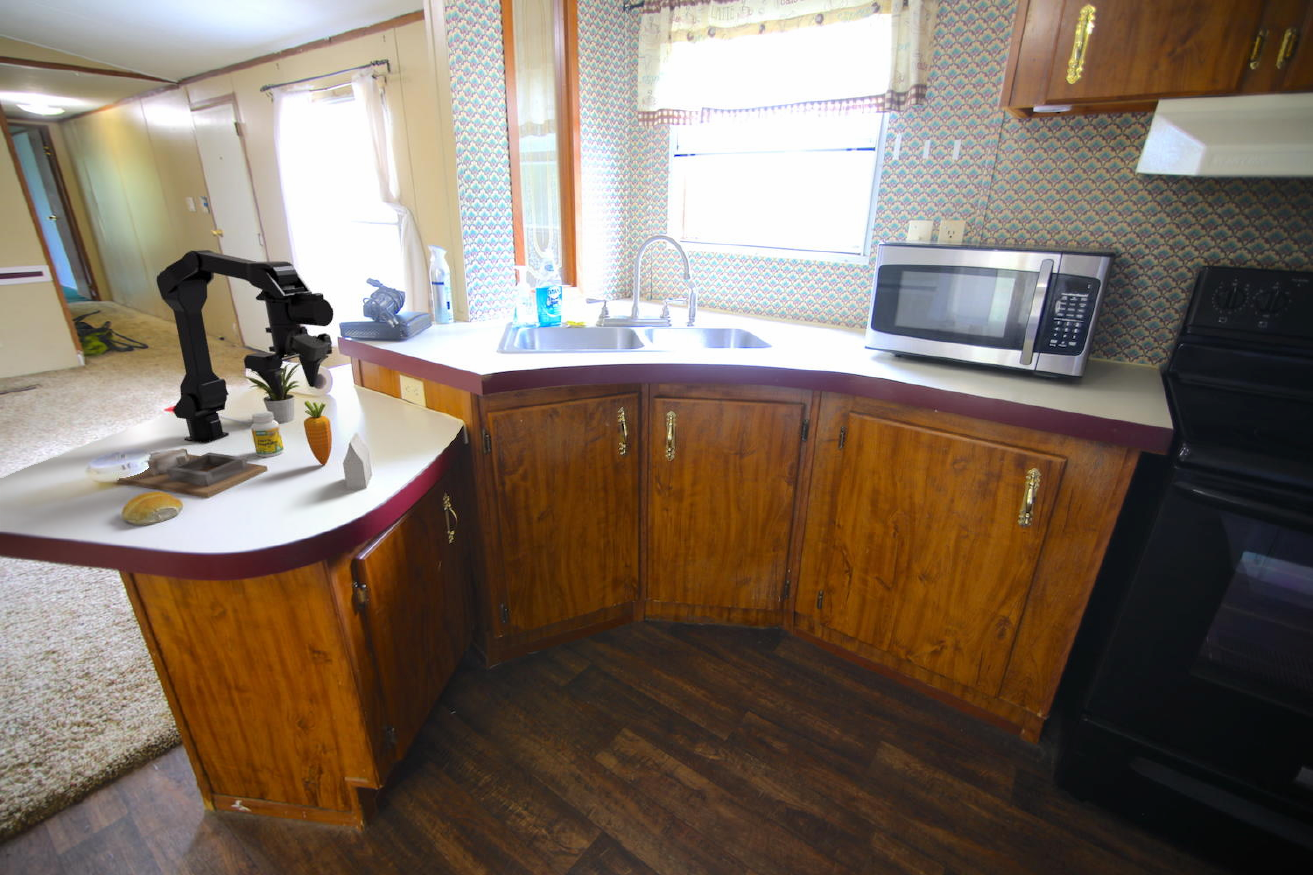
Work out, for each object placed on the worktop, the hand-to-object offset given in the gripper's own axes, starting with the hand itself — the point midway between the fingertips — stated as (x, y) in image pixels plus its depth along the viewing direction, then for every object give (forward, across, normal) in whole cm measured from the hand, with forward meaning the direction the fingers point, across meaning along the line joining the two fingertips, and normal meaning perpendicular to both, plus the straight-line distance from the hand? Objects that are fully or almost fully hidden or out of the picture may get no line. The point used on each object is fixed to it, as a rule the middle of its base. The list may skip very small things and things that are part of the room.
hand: (296, 392), depth 133 cm
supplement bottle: (+15, -3, +7) cm, 17 cm away
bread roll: (+15, -33, +3) cm, 36 cm away
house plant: (+15, +18, +22) cm, 32 cm away
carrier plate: (+15, -18, +11) cm, 26 cm away
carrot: (+15, -5, -9) cm, 18 cm away
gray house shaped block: (+15, -10, -22) cm, 28 cm away
